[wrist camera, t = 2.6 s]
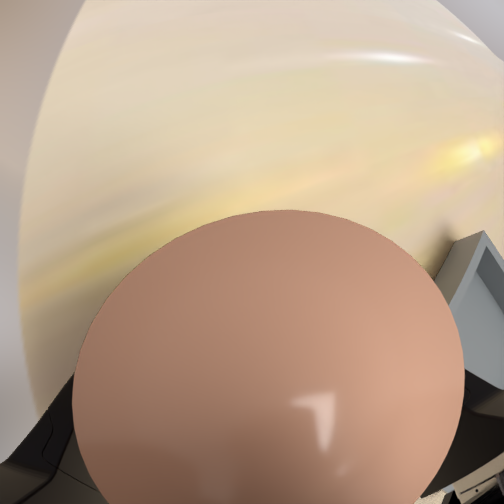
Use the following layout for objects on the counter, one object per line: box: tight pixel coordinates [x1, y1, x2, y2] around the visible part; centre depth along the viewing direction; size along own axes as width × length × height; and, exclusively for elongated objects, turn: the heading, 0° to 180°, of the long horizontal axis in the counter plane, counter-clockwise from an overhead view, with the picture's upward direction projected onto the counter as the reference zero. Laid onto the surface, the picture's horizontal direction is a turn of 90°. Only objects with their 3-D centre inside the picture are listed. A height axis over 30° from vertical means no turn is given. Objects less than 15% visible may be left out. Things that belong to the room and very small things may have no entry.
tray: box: [434, 230, 504, 493], centre depth 16 cm, size 16×16×4 cm
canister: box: [72, 210, 465, 504], centre depth 10 cm, size 6×6×14 cm
